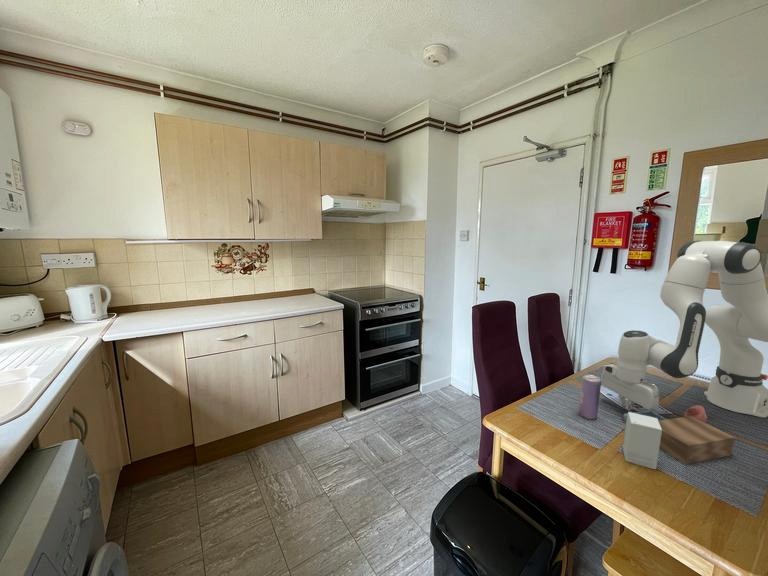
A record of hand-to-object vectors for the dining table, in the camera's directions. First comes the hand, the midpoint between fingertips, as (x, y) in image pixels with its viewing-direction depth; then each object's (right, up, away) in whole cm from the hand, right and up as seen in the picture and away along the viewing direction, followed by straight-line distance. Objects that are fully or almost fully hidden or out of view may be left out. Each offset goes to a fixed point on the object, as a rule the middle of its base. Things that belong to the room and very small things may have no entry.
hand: (625, 408), depth 122 cm
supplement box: (-15, -6, -25) cm, 30 cm away
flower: (+20, -3, -7) cm, 21 cm away
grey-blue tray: (+3, -4, -13) cm, 14 cm away
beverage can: (-16, -2, -2) cm, 16 cm away
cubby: (+4, -5, -20) cm, 21 cm away
